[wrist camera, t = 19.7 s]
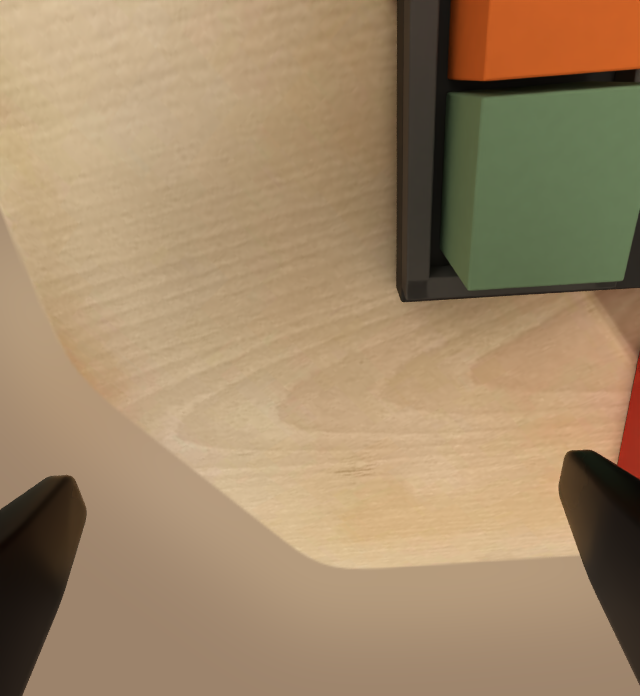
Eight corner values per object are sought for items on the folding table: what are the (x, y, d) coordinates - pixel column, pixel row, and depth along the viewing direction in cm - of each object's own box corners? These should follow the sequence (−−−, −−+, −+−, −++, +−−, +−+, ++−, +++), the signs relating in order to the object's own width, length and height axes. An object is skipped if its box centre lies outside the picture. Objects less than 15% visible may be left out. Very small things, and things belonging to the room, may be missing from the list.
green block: (439, 249, 18) (467, 291, 14) (445, 92, 16) (481, 97, 12) (564, 240, 18) (624, 281, 14) (591, 80, 15) (670, 82, 12)
